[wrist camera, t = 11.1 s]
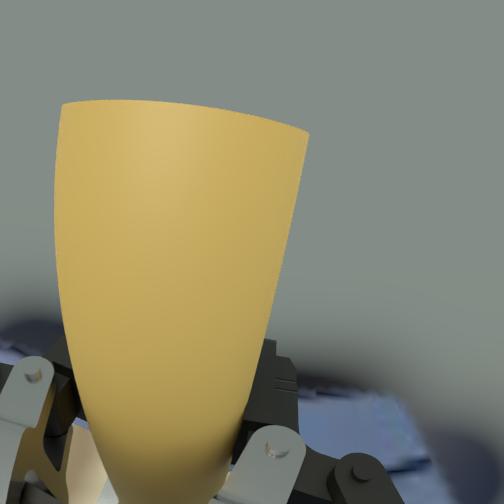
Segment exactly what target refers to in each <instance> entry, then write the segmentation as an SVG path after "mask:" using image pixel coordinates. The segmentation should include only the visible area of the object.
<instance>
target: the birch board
mask: <svg viewBox="0 0 504 504" xmlns="http://www.w3.org/2000/svg"><path fill="white" fill-rule="evenodd" d="M72 425H73V436H72V441H71V446H70V452H69V458H68V464H67V471H66V484H67V487H68V494H69V504H96V503H97V501H98V498H99V496H100V494H101V491H102V489H103V487H104V485H105V482H106V480H107V478H108V476H107V473H106V471H105V468H104V466H103V463H102V461H101V458H100V456H99V453H98V451H97V448H96V445H95V443H94V440H93V437H92V434H91V431H89V430H87V429H84V428H82V427H80V426H78V425H75V424H73V423H72ZM230 473H231V472H228V474H227V478H228V476H229V475H230ZM227 478H226V479H227Z"/></svg>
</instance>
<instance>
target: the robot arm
mask: <svg viewBox="0 0 504 504" xmlns="http://www.w3.org/2000/svg"><path fill="white" fill-rule="evenodd" d="M296 382H297V378H296V368H295V367H294V365H293V363H292V362H291V360H290V359H289V358H286V357H280V356H276V340H270V339H264V341H263V345H262V349H261V353H260V357H259V360H258V364H257V368H256V372H255V376H254V380H253V384H252V388H251V391H250V395H249V399H248V402H247V404H246V407H245V410H244V414H243V418H242V421H241V425H240V429H239V432H238V436H237V440H236V443H235V447H234V450H233V454H232V461H231V464H233V465H235V466H234V468H233V469H232V471H231V473H230V475H229V476H228V478H227V479H226V481H225V483H224V484H223V486H222V488H221V489H220V491H219V492H218V493H217V495H215V496H213V498H212V499H211V500H210V501H209V503H208V504H405V503H404V502H403V500H402V498H401V496H400V495H399V493H398V491H397V489H396V488H395V486H394V484H393V482H392V481H391V479H390V477H389V476H388V474H387V472H386V470H385V469H384V467H383V465H382V464H381V463H380V462H379V461H378V460H377V459H376V458H374V457H372V456H370V455H368V454H364V453H351V454H348V455H346V456H344V457H342V458H341V459H340V460H339V459H335V458H332V457H329V456H326V455H323V454H320V453H318V452H316V451H314V450H312V449H311V448H309V447H308V446H307V445H306V444H305V443H304V440H303V439H302V438H301V436H300V434H299V426H298V400H297V383H296ZM76 417H78V418H80V419H82V420H85V421H87V419H86V416H85V413H84V409H83V406H82V403H81V399H80V395H79V392H78V388H77V384H76V380H75V376H74V372H73V368H72V364H71V359H70V354H69V350H68V345H67V339H66V334H63V335H62V336H61V337H60V338H59V339H58V340H57V341H56V343H55V344H54V345H53V346H52V347H51V348H50V349H49V350H48V351H47V352H46V353H45V354H44V355H43V356H42V357H38V356H31V357H26V358H23V359H21V360H20V361H18V362H17V363H16V364H15V365H9V364H4V363H0V504H69V494H68V487H67V484H66V471H67V464H68V458H69V452H70V446H71V441H72V436H73V425H72V423H73V421H74V419H75V418H76Z"/></svg>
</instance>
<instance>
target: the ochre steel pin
mask: <svg viewBox="0 0 504 504" xmlns="http://www.w3.org/2000/svg"><path fill="white" fill-rule="evenodd" d="M308 138H309V133H308V132H306V131H304V130H301V129H298V128H296V127H293V126H289V125H287V124H283V123H280V122H276V121H273V120H269V119H265V118H261V117H257V116H253V115H248V114H243V113H238V112H233V111H228V110H222V109H216V108H210V107H203V106H196V105H188V104H180V103H170V102H158V101H141V100H93V101H80V102H72V103H67V104H64V105H62V110H61V117H60V125H59V133H58V143H57V154H56V168H55V193H54V194H55V195H54V196H55V197H54V198H55V199H54V223H55V224H54V225H55V249H56V264H57V276H58V285H59V293H60V302H61V309H62V315H63V322H64V328H65V334H66V339H67V345H68V350H69V354H70V359H71V364H72V368H73V372H74V376H75V380H76V384H77V388H78V392H79V395H80V399H81V403H82V406H83V409H84V413H85V416H86V419H87V422H88V425H89V428H90V431H91V434H92V437H93V440H94V443H95V445H96V448H97V451H98V453H99V456H100V458H101V461H102V463H103V466H104V468H105V471H106V473H107V476H108V478H109V480H110V482H111V485H112V487H113V489H114V491H115V493H116V495H117V498H118V500H119V502H120V504H208V503H209V501H210V500H211V499H212V498H213V496H215V495H217V493H218V492H219V491H220V489H221V488H222V486H223V484H224V483H225V481H226V478H227V474H228V471H229V467H230V464H231V460H232V454H233V450H234V447H235V443H236V440H237V436H238V432H239V429H240V425H241V421H242V418H243V414H244V410H245V407H246V404H247V402H248V399H249V395H250V391H251V388H252V384H253V380H254V376H255V372H256V368H257V364H258V360H259V357H260V353H261V349H262V345H263V341H264V336H265V333H266V328H267V324H268V320H269V316H270V312H271V308H272V304H273V300H274V295H275V291H276V287H277V283H278V278H279V274H280V270H281V265H282V261H283V256H284V252H285V247H286V243H287V239H288V234H289V229H290V225H291V221H292V215H293V211H294V207H295V202H296V197H297V192H298V188H299V183H300V178H301V173H302V168H303V163H304V158H305V153H306V148H307V143H308Z"/></svg>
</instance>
